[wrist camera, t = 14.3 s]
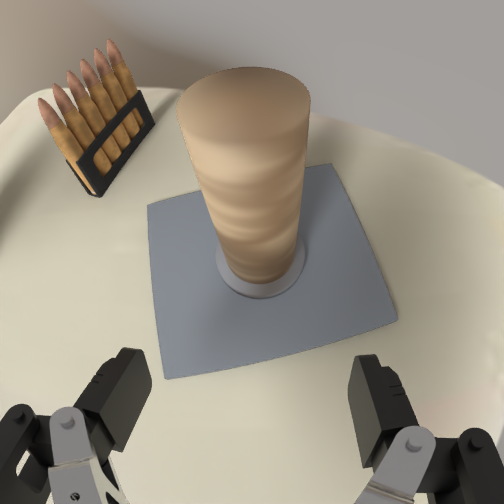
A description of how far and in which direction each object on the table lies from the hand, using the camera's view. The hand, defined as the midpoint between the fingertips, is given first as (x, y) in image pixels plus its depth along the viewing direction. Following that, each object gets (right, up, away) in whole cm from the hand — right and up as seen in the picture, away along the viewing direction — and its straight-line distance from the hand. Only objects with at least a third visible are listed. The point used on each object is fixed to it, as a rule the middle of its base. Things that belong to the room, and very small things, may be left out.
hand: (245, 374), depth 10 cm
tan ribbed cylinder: (+1, +4, +10) cm, 11 cm away
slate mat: (+1, +4, +11) cm, 12 cm away
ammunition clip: (-13, +14, +18) cm, 26 cm away
